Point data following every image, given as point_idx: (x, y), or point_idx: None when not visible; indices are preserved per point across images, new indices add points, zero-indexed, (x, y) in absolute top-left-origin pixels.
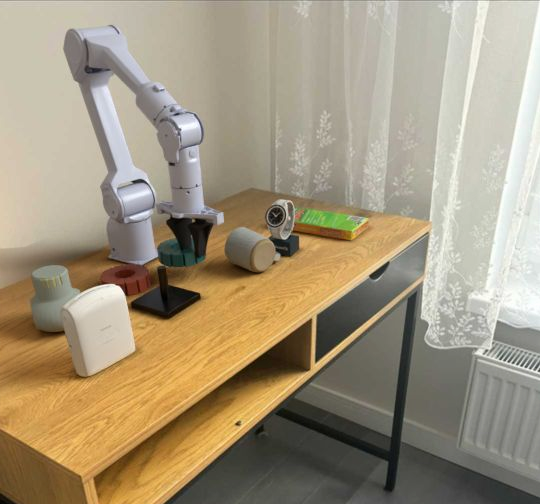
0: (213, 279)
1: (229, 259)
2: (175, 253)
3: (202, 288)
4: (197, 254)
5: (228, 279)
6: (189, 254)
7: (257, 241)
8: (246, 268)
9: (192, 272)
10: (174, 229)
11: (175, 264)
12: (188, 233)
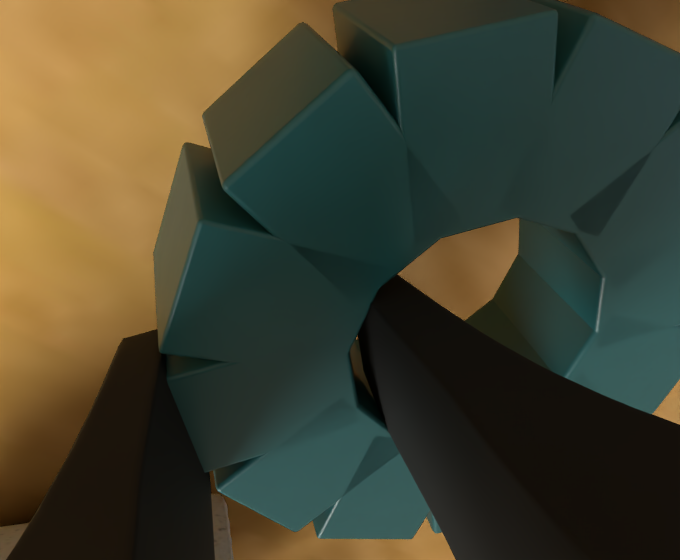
0: (117, 292)
1: None
2: (351, 149)
3: (9, 126)
4: (120, 359)
5: (26, 368)
6: (173, 280)
7: None
8: (12, 526)
9: None
10: (627, 491)
11: (283, 53)
12: (465, 546)
